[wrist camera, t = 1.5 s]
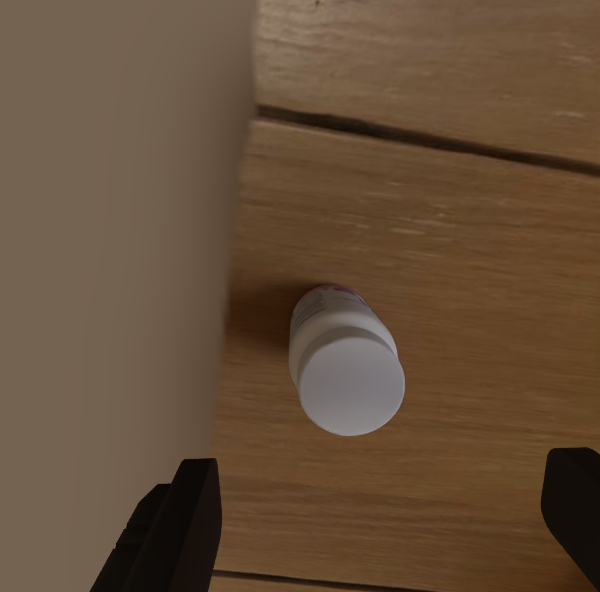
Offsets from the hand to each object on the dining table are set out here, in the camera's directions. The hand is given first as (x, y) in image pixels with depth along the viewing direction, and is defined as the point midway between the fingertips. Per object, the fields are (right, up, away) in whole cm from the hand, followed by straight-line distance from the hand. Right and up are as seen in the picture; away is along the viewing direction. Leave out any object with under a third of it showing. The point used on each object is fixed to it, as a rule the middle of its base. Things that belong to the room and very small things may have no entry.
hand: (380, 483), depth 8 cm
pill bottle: (0, +3, +13) cm, 13 cm away
